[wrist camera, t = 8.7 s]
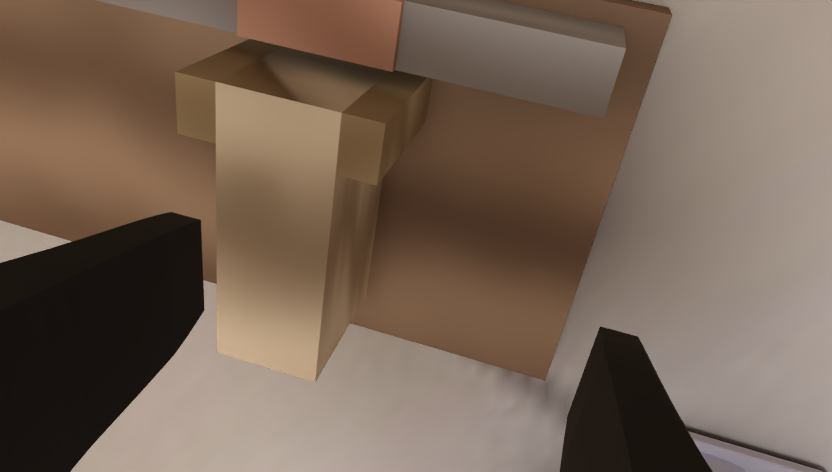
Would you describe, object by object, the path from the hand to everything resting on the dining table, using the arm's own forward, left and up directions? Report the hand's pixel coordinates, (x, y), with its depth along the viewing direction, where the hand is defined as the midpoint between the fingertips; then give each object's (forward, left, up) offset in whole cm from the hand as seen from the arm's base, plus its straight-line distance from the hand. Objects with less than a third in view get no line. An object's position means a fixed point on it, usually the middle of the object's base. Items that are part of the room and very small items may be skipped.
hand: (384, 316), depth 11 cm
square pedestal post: (-2, +4, -8) cm, 10 cm away
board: (-1, +10, -9) cm, 14 cm away
